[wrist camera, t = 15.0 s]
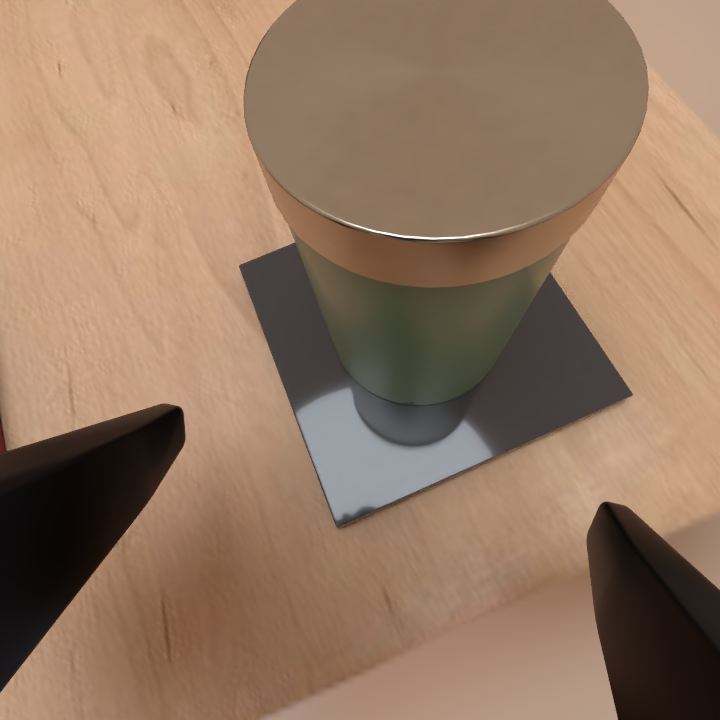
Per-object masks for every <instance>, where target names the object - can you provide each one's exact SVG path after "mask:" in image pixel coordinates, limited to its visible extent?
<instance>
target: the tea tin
mask: <svg viewBox="0 0 720 720" xmlns="http://www.w3.org/2000/svg"><path fill="white" fill-rule="evenodd" d="M648 89H649V85H648V75H647V66H646V63H645V60H644V56H643V53H642V49H641V47H640V45H639V43H638V41H637V39H636V37H635V35H634V33H633V31H632V29H631V28H630V26H629V25H628V24H627V22H626V21H625V20H624V18H623V17H622V15H621V14H620V13H619V12H618V11H617V10H616V9H615V8H614V7H613V6H612V5H611V4H610V3H609V1H607V0H297V1H296V2H294V3H293V4H292V5H291V6H290V7H289V8H288V9H287V10H286V11H285V12H283V13H282V15H281V16H280V17H279V18H278V19H277V20H276V21H275V23H274V24H273V25H272V26H271V27H270V29H269V30H268V32H267V33H266V35H265V36H264V38H263V39H262V41H261V42H260V44H259V46H258V48H257V50H256V52H255V54H254V56H253V58H252V60H251V64H250V67H249V70H248V73H247V77H246V83H245V90H244V118H245V123H246V127H247V132H248V136H249V139H250V141H251V144H252V146H253V149H254V151H255V154H256V156H257V159H258V162H259V164H260V167H261V169H262V172H263V174H264V177H265V179H266V182H267V184H268V187H269V189H270V192H271V194H272V197H273V199H274V201H275V204H276V206H277V208H278V209H279V211H280V213H281V214H282V216H283V217H284V219H285V221H286V222H287V223H288V225H289V227H290V230H291V233H292V235H293V238H294V241H295V243H296V246H297V249H298V251H299V254H300V256H301V259H302V262H303V264H304V267H305V270H306V272H307V275H308V278H309V280H310V283H311V286H312V288H313V291H314V293H315V296H316V299H317V301H318V304H319V307H320V309H321V312H322V315H323V317H324V320H325V323H326V325H327V328H328V330H329V333H330V336H331V338H332V341H333V344H334V346H335V349H336V351H337V354H338V356H339V359H340V360H341V362H342V364H343V366H344V367H345V369H346V370H347V371H348V373H349V374H350V375H351V376H352V377H353V378H354V379H355V380H356V381H357V382H358V383H359V384H360V385H361V386H363V387H364V388H365V389H367V390H368V391H370V392H372V393H373V394H375V395H377V396H379V397H381V398H384V399H386V400H389V401H392V402H396V403H400V404H408V405H430V404H437V403H441V402H445V401H448V400H451V399H453V398H456V397H458V396H460V395H462V394H464V393H466V392H467V391H469V390H471V389H472V388H473V387H474V386H476V385H477V384H478V383H479V382H480V381H481V380H482V379H483V378H484V377H485V376H486V375H487V374H488V373H489V371H490V370H491V368H492V367H493V366H494V364H495V362H496V361H497V359H498V357H499V356H500V354H501V352H502V351H503V349H504V347H505V346H506V344H507V342H508V341H509V339H510V337H511V336H512V334H513V332H514V331H515V329H516V327H517V326H518V324H519V322H520V321H521V319H522V317H523V316H524V314H525V312H526V311H527V309H528V307H529V306H530V304H531V302H532V301H533V299H534V297H535V296H536V294H537V292H538V291H539V289H540V287H541V286H542V284H543V283H544V281H545V279H546V278H547V276H548V274H549V273H550V271H551V269H552V268H553V266H554V264H555V263H556V261H557V259H558V258H559V256H560V254H561V253H562V251H563V249H564V248H565V246H566V244H567V243H568V241H569V239H570V238H571V236H572V235H573V234H574V233H575V232H576V231H577V230H578V229H579V228H580V227H581V226H582V225H583V224H584V223H585V221H586V220H587V219H588V217H589V216H590V214H591V213H592V212H593V210H594V209H595V208H596V206H597V204H598V203H599V201H600V199H601V198H602V196H603V195H604V193H605V191H606V190H607V188H608V187H609V185H610V183H611V182H612V180H613V179H614V177H615V175H616V174H617V172H618V171H619V169H620V167H621V166H622V164H623V163H624V161H625V159H626V158H627V156H628V155H629V153H630V151H631V149H632V147H633V145H634V143H635V141H636V139H637V137H638V135H639V133H640V131H641V128H642V124H643V121H644V118H645V114H646V111H647V100H648Z"/></svg>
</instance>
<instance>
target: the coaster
mask: <svg viewBox="0 0 720 720" xmlns="http://www.w3.org/2000/svg"><path fill="white" fill-rule="evenodd" d="M239 268H240V271H241V273H242V276H243V279H244V281H245V284H246V287H247V289H248V292H249V295H250V297H251V300H252V303H253V305H254V308H255V311H256V313H257V316H258V319H259V321H260V324H261V327H262V329H263V332H264V335H265V337H266V340H267V343H268V345H269V348H270V351H271V353H272V356H273V359H274V361H275V364H276V367H277V369H278V372H279V375H280V377H281V380H282V383H283V385H284V388H285V391H286V393H287V396H288V399H289V401H290V404H291V407H292V409H293V412H294V415H295V417H296V420H297V423H298V425H299V428H300V431H301V433H302V436H303V439H304V441H305V444H306V447H307V449H308V452H309V455H310V457H311V460H312V463H313V465H314V468H315V471H316V473H317V476H318V479H319V481H320V484H321V487H322V489H323V492H324V495H325V497H326V500H327V503H328V505H329V508H330V511H331V513H332V516H333V519H334V521H335V524H336V527H337V528H341V527H343V526H345V525H347V524H350V523H352V522H354V521H356V520H359V519H361V518H363V517H365V516H367V515H370V514H372V513H374V512H376V511H379V510H381V509H383V508H385V507H387V506H390V505H392V504H394V503H396V502H399V501H401V500H403V499H405V498H408V497H410V496H412V495H414V494H416V493H419V492H421V491H423V490H425V489H428V488H430V487H432V486H434V485H436V484H439V483H441V482H443V481H445V480H448V479H450V478H452V477H454V476H456V475H459V474H461V473H463V472H465V471H468V470H470V469H472V468H474V467H476V466H479V465H481V464H483V463H485V462H488V461H490V460H492V459H494V458H496V457H499V456H501V455H503V454H505V453H508V452H510V451H512V450H514V449H516V448H519V447H521V446H523V445H525V444H528V443H530V442H532V441H534V440H536V439H539V438H541V437H543V436H545V435H548V434H550V433H552V432H554V431H556V430H559V429H561V428H563V427H565V426H568V425H570V424H572V423H574V422H576V421H579V420H581V419H583V418H585V417H588V416H590V415H592V414H594V413H597V412H599V411H601V410H603V409H605V408H608V407H610V406H612V405H614V404H617V403H619V402H621V401H623V400H625V399H627V398H629V397H631V396H632V395H633V394H632V392H631V391H630V389H629V388H628V386H627V385H626V383H625V382H624V380H623V379H622V377H621V376H620V375H619V373H618V372H617V370H616V369H615V367H614V366H613V364H612V363H611V361H610V360H609V358H608V357H607V355H606V354H605V352H604V351H603V349H602V348H601V347H600V345H599V344H598V342H597V341H596V339H595V338H594V336H593V335H592V333H591V332H590V330H589V329H588V327H587V326H586V324H585V323H584V321H583V320H582V319H581V317H580V316H579V314H578V313H577V311H576V310H575V308H574V307H573V305H572V304H571V302H570V301H569V299H568V298H567V296H566V295H565V293H564V292H563V291H562V289H561V288H560V286H559V285H558V283H557V282H556V280H555V279H554V277H553V276H552V274H551V273H549V274H548V276H547V278H546V279H545V281H544V283H543V284H542V286H541V287H540V289H539V291H538V292H537V294H536V296H535V297H534V299H533V301H532V302H531V304H530V306H529V307H528V309H527V311H526V312H525V314H524V316H523V317H522V319H521V321H520V322H519V324H518V326H517V327H516V329H515V331H514V332H513V334H512V336H511V337H510V339H509V341H508V342H507V344H506V346H505V347H504V349H503V351H502V352H501V354H500V356H499V357H498V359H497V361H496V362H495V364H494V366H493V367H492V368H491V370H490V371H489V373H488V374H487V375H486V376H485V377H484V378H483V379H482V380H481V381H480V382H479V383H478V384H477V385H476V386H474V387H473V388H472V389H471V390H469V391H467V392H466V393H464V394H462V395H460V396H458V397H456V398H453V399H451V400H448V401H445V402H441V403H437V404H430V405H408V404H400V403H396V402H392V401H389V400H386V399H384V398H381V397H379V396H377V395H375V394H373V393H372V392H370V391H368V390H367V389H365V388H364V387H363V386H361V385H360V384H359V383H358V382H357V381H356V380H355V379H354V378H353V377H352V376H351V375H350V374H349V373H348V371H347V370H346V369H345V367H344V366H343V364H342V362H341V360H340V359H339V356H338V354H337V351H336V349H335V346H334V344H333V341H332V338H331V336H330V333H329V330H328V328H327V325H326V323H325V320H324V317H323V315H322V312H321V309H320V307H319V304H318V301H317V299H316V296H315V293H314V291H313V288H312V286H311V283H310V280H309V278H308V275H307V272H306V270H305V267H304V264H303V262H302V259H301V256H300V254H299V251H298V249H297V246H296V243H293V244H290V245H288V246H286V247H283V248H281V249H278V250H276V251H273V252H271V253H268V254H266V255H263V256H261V257H259V258H256V259H254V260H251V261H249V262H246V263H244V264H241V265H239Z"/></svg>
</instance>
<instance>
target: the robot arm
mask: <svg viewBox="0 0 720 720" xmlns="http://www.w3.org/2000/svg"><path fill="white" fill-rule="evenodd" d="M184 443H185V424H184V413H183V410H182V408H181V407H179V406H175V405H170V404H160V405H156V406H153V407H150V408H147V409H143V410H140V411H137V412H134V413H130V414H127V415H124V416H121V417H117V418H114V419H111V420H108V421H104V422H101V423H98V424H95V425H91V426H88V427H85V428H82V429H78V430H75V431H72V432H69V433H65V434H62V435H59V436H56V437H52V438H49V439H46V440H43V441H39V442H36V443H33V444H30V445H26V446H23V447H20V448H17V449H13V450H10V451H7V452H4V453H0V692H1V691H2V690H3V688H4V687H5V686H6V685H7V683H8V682H9V681H10V679H11V678H12V677H13V676H14V674H15V673H16V672H17V670H18V669H19V668H20V667H21V665H22V664H23V663H24V661H25V660H26V659H27V658H28V656H29V655H30V654H31V652H32V651H33V650H34V649H35V647H36V646H37V645H38V643H39V642H40V641H41V640H42V638H43V637H44V636H45V634H46V633H47V632H48V631H49V629H50V628H51V627H52V625H53V624H54V623H55V622H56V620H57V619H58V618H59V616H60V615H61V614H62V613H63V611H64V610H65V609H66V607H67V606H68V605H69V604H70V602H71V601H72V600H73V598H74V597H75V596H76V595H77V593H78V592H79V591H80V589H81V588H82V587H83V586H84V584H85V583H86V582H87V580H88V579H89V578H90V577H91V575H92V574H93V573H94V571H95V570H96V569H97V568H98V566H99V565H100V564H101V562H102V561H103V560H104V559H105V557H106V556H107V555H108V553H109V552H110V551H111V550H112V548H113V547H114V546H115V544H116V543H117V542H118V541H119V539H120V538H121V537H122V535H123V534H124V533H125V532H126V530H127V529H128V528H129V526H130V525H131V524H132V523H133V521H134V520H135V519H136V517H137V516H138V515H139V514H140V512H141V511H142V510H143V508H144V507H145V506H146V504H147V503H148V501H149V500H150V499H151V497H152V496H153V494H154V493H155V491H156V489H157V488H158V486H159V485H160V483H161V481H162V480H163V478H164V477H165V475H166V473H167V472H168V470H169V469H170V467H171V465H172V464H173V462H174V461H175V459H176V457H177V456H178V454H179V453H180V451H181V449H182V448H183V445H184ZM587 551H588V560H589V569H590V577H591V586H592V595H593V604H594V611H595V618H596V623H597V629H598V634H599V638H600V642H601V646H602V651H603V655H604V660H605V664H606V668H607V673H608V677H609V681H610V686H611V690H612V694H613V698H614V703H615V707H616V712H617V716H618V720H720V590H719V589H718V588H717V587H716V586H715V585H714V584H712V583H711V582H710V581H709V580H708V579H707V578H706V577H704V575H702V574H701V573H700V572H699V571H698V570H697V569H696V568H695V567H694V566H693V565H691V564H690V563H689V562H688V561H687V560H686V559H685V558H684V557H683V556H681V555H680V554H679V553H678V552H677V551H676V550H675V549H674V548H673V547H671V546H670V545H669V544H668V543H667V542H666V541H665V540H664V539H663V538H662V537H660V536H659V535H658V534H657V533H656V532H655V531H654V530H653V529H652V528H650V527H649V526H648V525H647V524H646V523H645V522H644V521H643V520H642V519H640V518H639V517H638V516H637V515H636V514H635V513H634V512H633V511H632V510H631V509H629V508H628V507H627V506H624V505H620V504H616V503H611V502H603V503H602V504H601V505H600V506H599V508H598V510H597V512H596V515H595V517H594V519H593V521H592V524H591V526H590V528H589V531H588V534H587Z"/></svg>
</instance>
